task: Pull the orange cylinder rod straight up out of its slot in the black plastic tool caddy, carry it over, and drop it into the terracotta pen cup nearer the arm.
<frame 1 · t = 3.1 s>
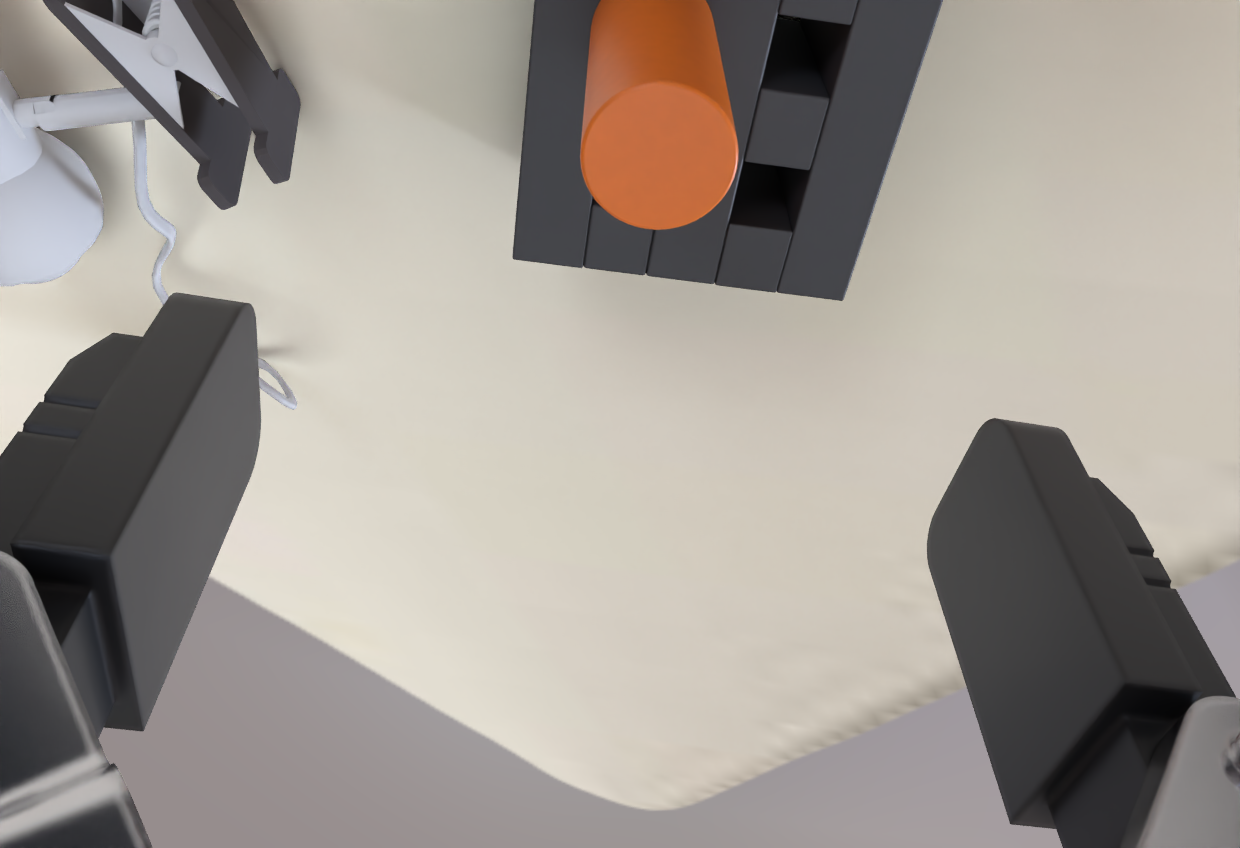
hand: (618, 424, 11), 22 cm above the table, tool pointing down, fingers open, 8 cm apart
clip-on lamp: (157, 178, 34), on the table
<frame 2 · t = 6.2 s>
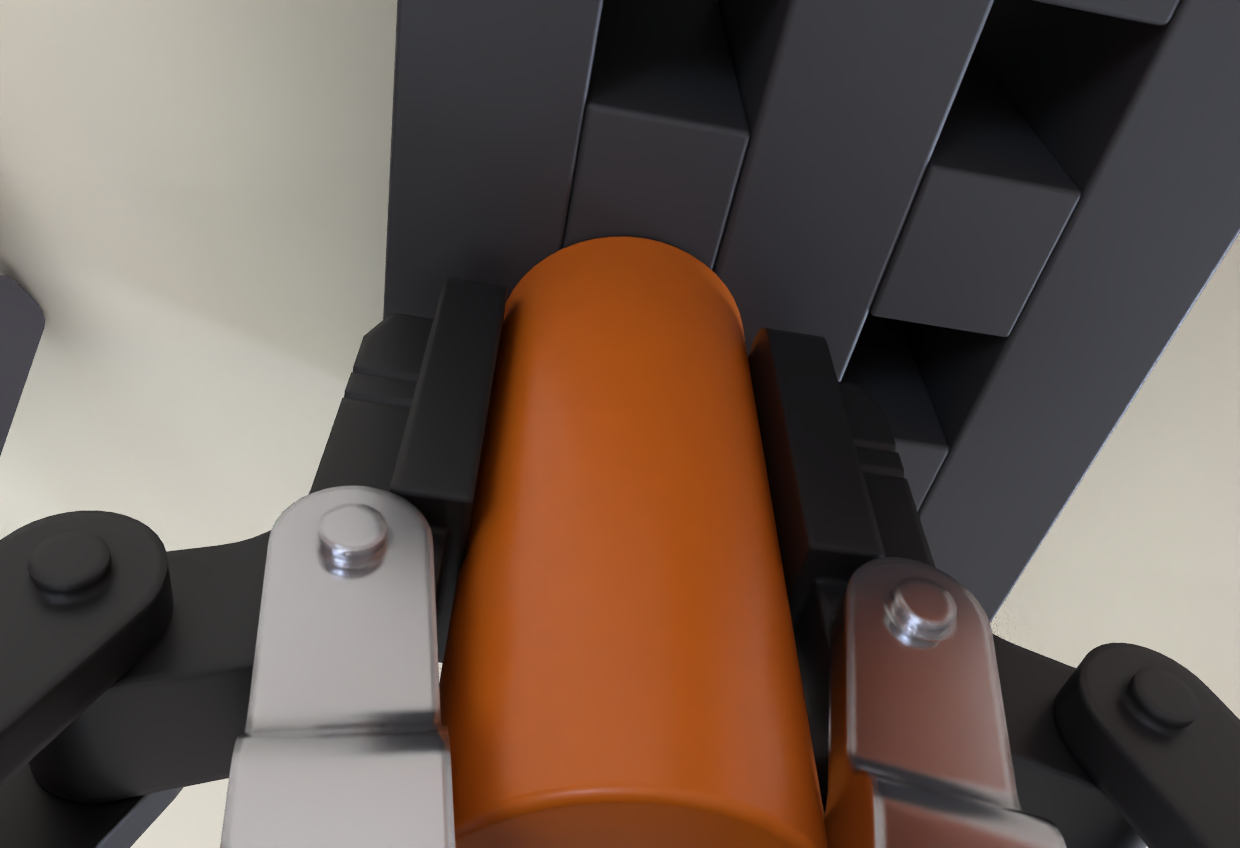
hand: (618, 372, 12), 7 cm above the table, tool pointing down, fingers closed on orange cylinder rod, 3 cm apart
holder: (729, 159, 17), on the table
orange cylinder rod: (620, 152, 17), point 1 cm above the table, touching gripper, holder
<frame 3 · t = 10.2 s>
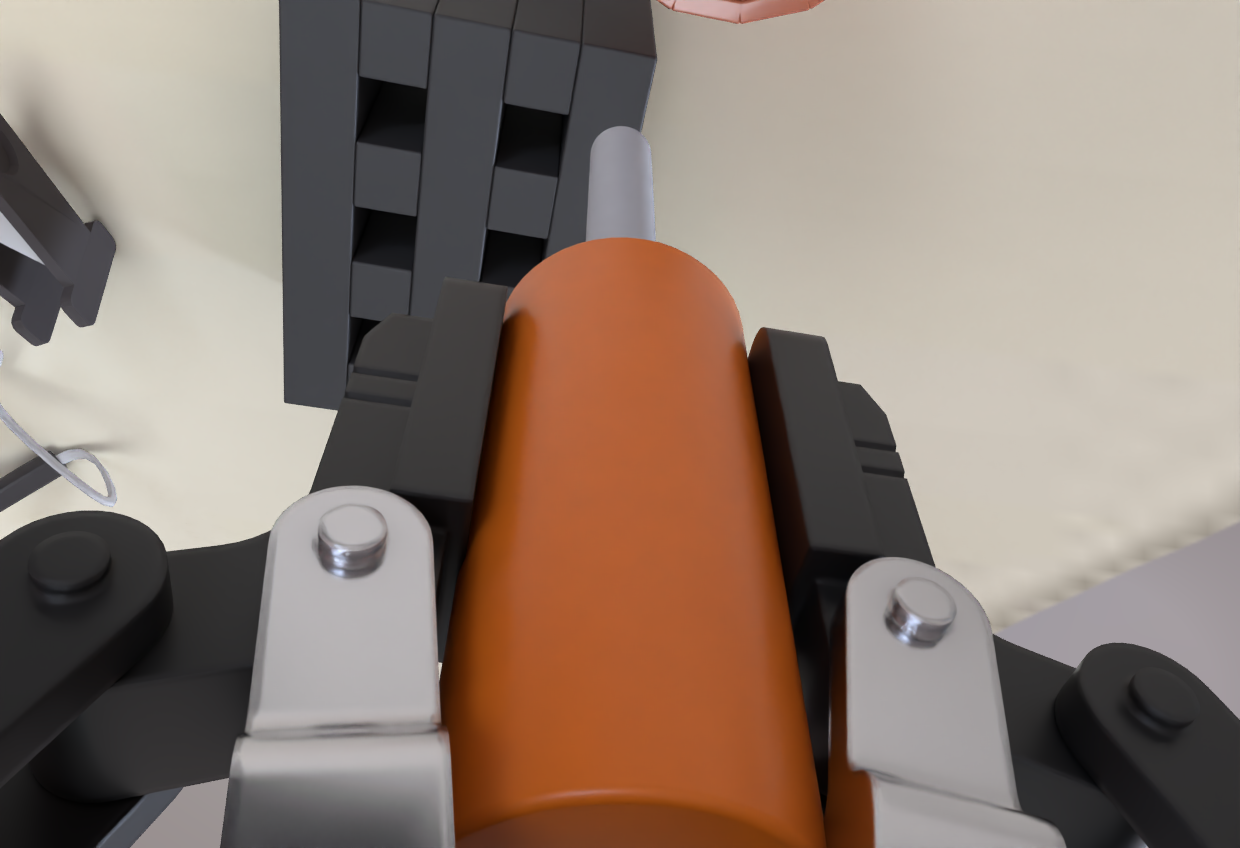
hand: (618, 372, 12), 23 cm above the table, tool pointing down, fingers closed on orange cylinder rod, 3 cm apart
holder: (469, 162, 34), on the table
orange cylinder rod: (620, 153, 17), point 17 cm above the table, touching gripper
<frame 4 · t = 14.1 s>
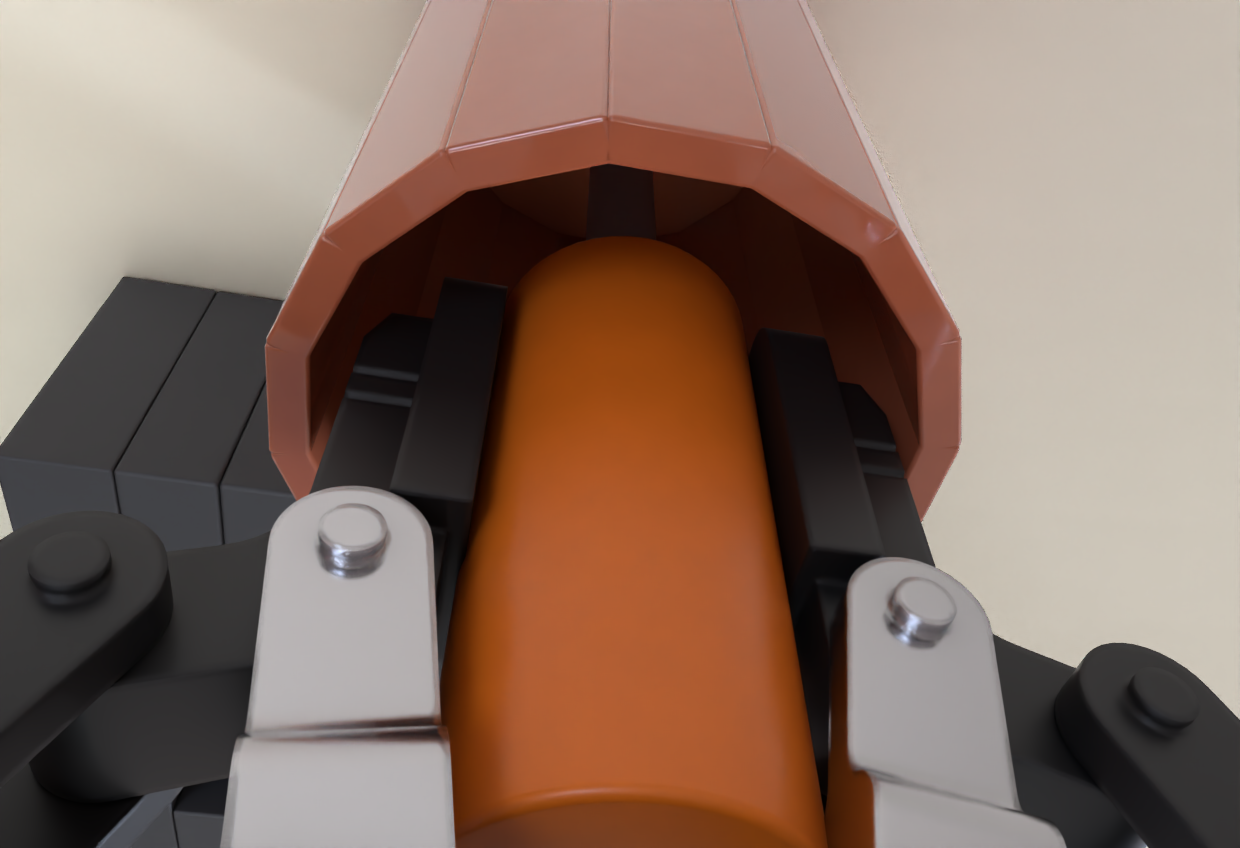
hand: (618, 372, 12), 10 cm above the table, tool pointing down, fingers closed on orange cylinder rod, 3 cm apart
holder: (341, 519, 27), on the table
orange cylinder rod: (621, 152, 17), point 3 cm above the table, touching gripper
pen cup: (616, 75, 19), on the table
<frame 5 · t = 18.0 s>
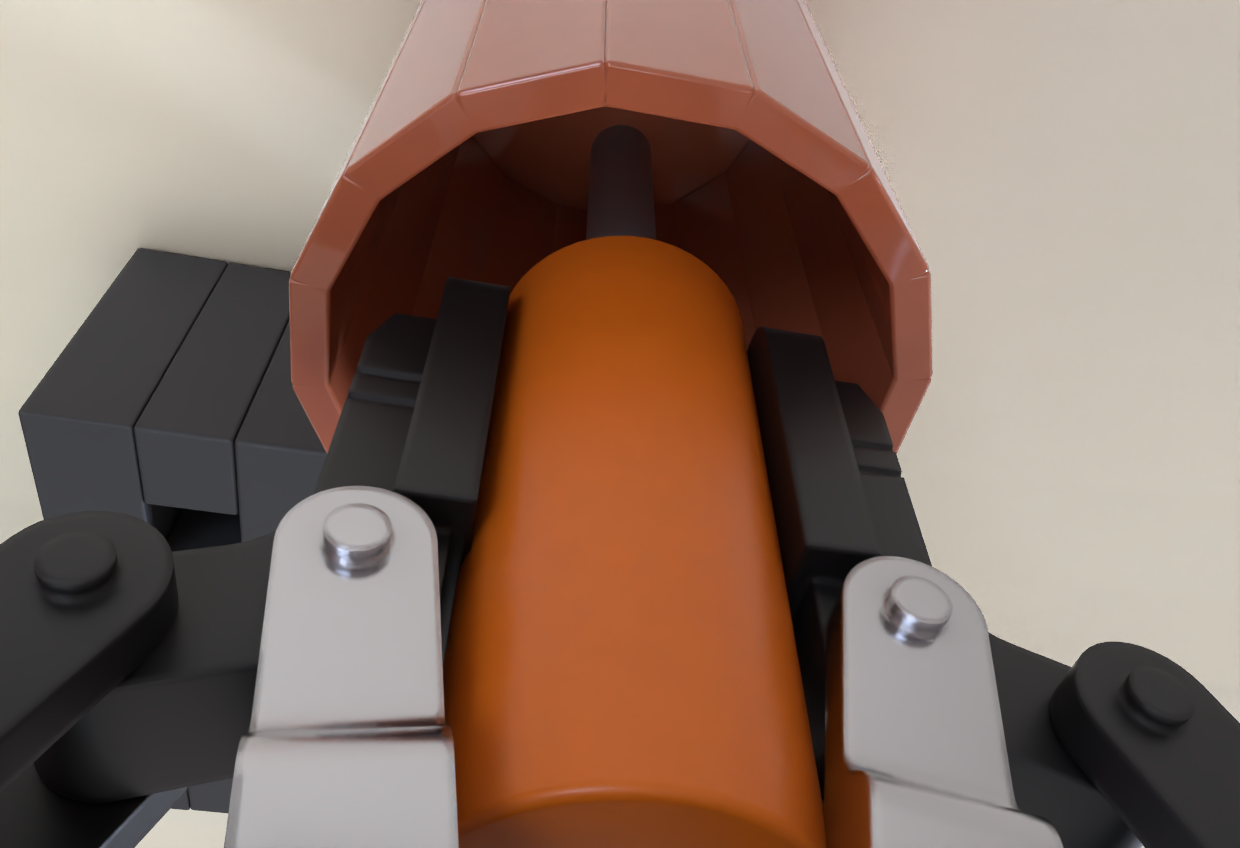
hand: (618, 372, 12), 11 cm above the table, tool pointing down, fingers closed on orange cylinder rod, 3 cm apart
holder: (347, 488, 28), on the table
orange cylinder rod: (621, 151, 17), point 5 cm above the table, touching gripper
pen cup: (613, 51, 20), on the table
when the fingers open (11 cm above the table, at t = 21.6 s): orange cylinder rod drops 5 cm, resting on pen cup.
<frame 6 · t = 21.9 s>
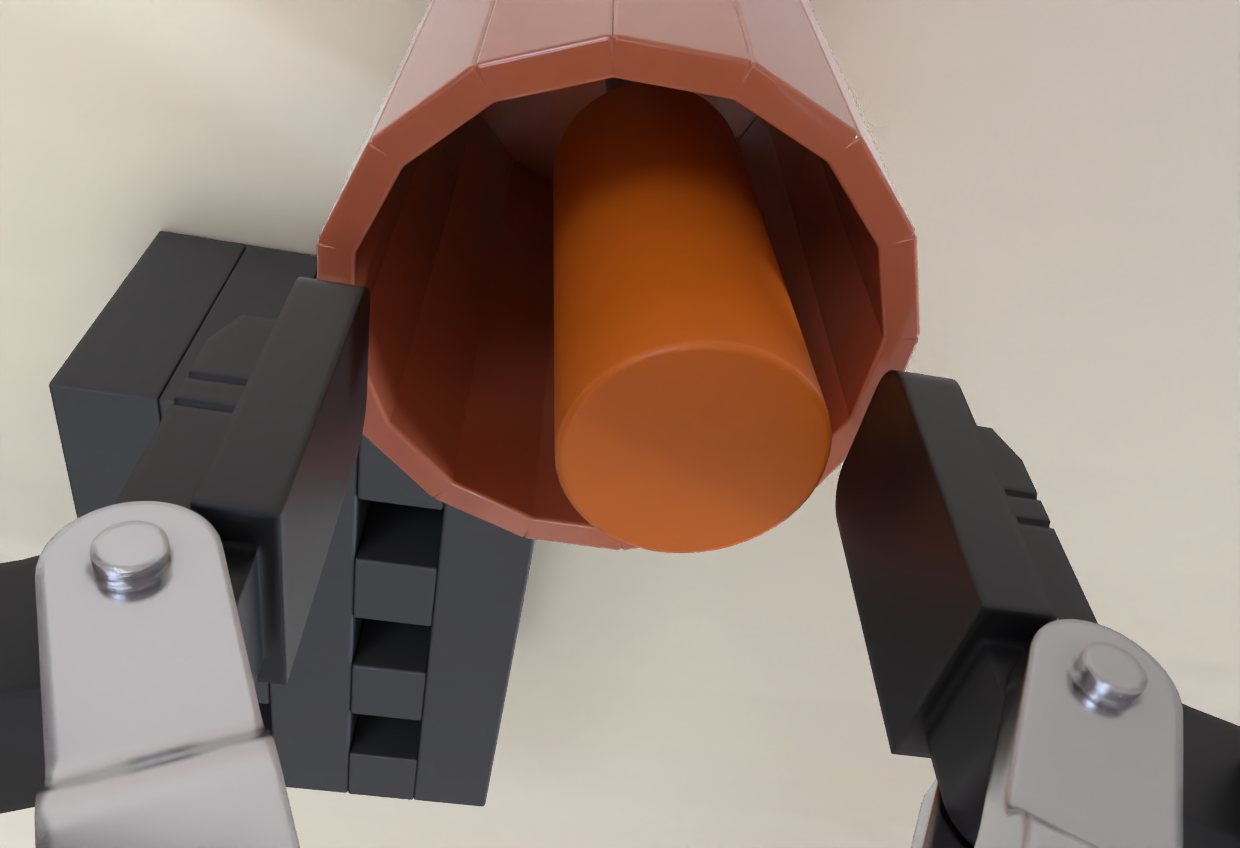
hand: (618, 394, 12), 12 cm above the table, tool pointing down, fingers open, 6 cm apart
holder: (359, 467, 29), on the table
orange cylinder rod: (626, 52, 21), point 1 cm above the table, touching pen cup
pen cup: (618, 39, 21), on the table
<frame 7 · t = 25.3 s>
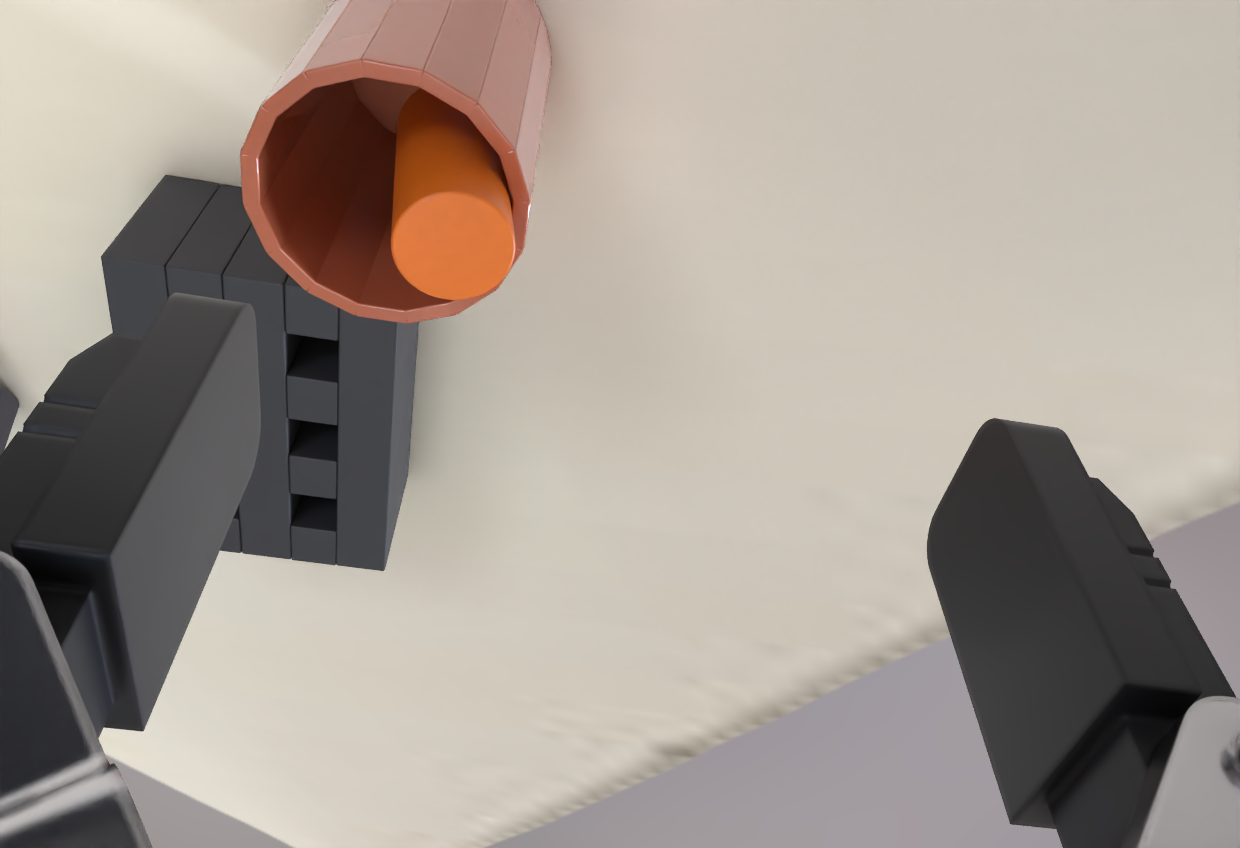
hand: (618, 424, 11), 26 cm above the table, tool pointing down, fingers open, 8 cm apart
holder: (300, 341, 42), on the table
orange cylinder rod: (446, 62, 34), point 1 cm above the table, tilted 8°, touching pen cup
pen cup: (444, 54, 35), on the table
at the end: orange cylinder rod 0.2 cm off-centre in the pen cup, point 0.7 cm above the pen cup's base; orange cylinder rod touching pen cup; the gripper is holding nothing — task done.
